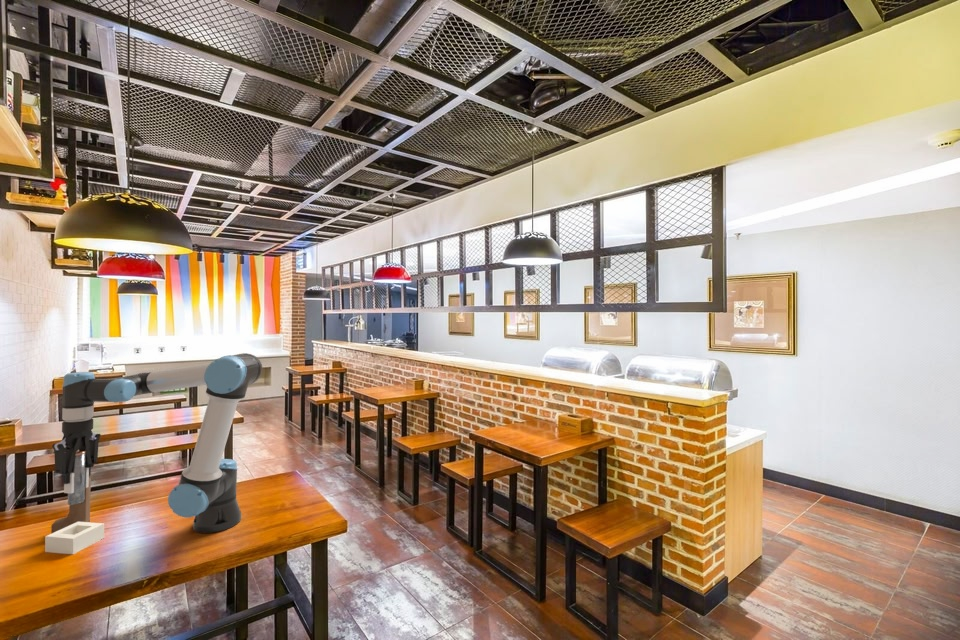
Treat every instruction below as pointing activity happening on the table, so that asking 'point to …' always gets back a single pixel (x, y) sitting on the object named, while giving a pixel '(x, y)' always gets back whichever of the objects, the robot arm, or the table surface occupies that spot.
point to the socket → (74, 537)
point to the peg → (78, 479)
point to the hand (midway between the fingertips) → (76, 489)
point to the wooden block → (75, 513)
